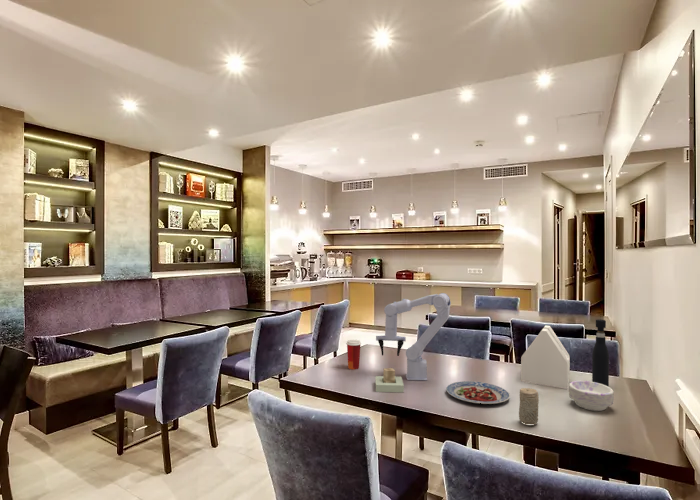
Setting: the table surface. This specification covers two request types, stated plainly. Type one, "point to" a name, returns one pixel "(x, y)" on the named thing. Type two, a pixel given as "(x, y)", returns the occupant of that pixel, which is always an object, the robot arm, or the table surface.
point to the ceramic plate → (478, 392)
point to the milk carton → (546, 361)
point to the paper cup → (353, 354)
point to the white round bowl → (591, 395)
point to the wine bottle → (600, 356)
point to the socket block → (389, 385)
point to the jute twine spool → (528, 406)
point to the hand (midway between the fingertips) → (390, 355)
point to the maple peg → (388, 375)
